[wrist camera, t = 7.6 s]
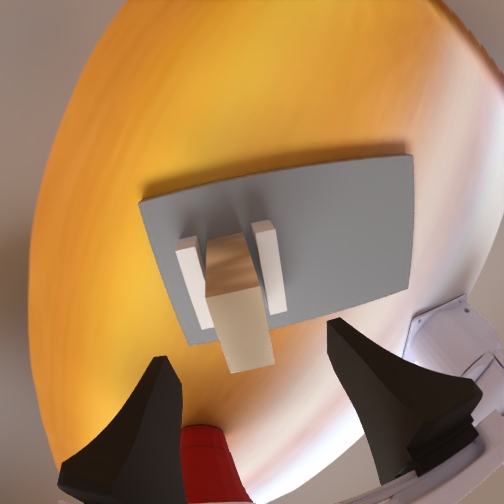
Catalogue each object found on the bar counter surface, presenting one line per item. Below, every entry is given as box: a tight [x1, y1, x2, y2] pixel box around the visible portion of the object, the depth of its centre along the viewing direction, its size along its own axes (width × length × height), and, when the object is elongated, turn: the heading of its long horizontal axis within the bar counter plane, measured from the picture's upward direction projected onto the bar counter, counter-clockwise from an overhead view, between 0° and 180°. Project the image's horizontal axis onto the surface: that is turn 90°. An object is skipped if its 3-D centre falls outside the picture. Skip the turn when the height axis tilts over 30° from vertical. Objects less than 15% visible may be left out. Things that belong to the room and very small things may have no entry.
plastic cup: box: [180, 425, 256, 504], centre depth 23 cm, size 11×11×12 cm
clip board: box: [138, 154, 414, 346], centre depth 19 cm, size 20×12×3 cm, turn 100°
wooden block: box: [205, 232, 275, 374], centre depth 16 cm, size 2×5×7 cm, turn 10°
